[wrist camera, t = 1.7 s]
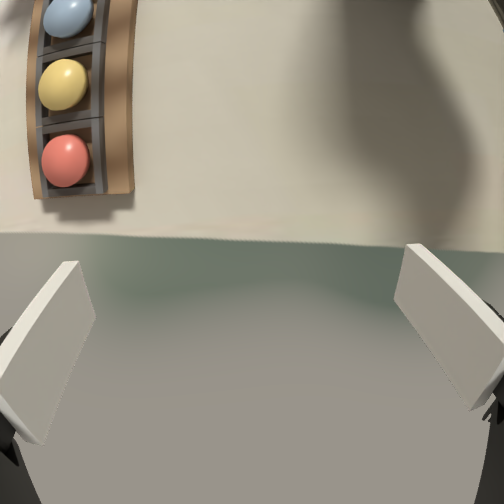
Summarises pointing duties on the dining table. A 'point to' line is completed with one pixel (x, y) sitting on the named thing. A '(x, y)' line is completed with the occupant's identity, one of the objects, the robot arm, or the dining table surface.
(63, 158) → the button red
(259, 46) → the dining table surface
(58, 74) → the button ochre
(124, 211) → the dining table surface
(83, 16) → the button blue
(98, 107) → the button panel
